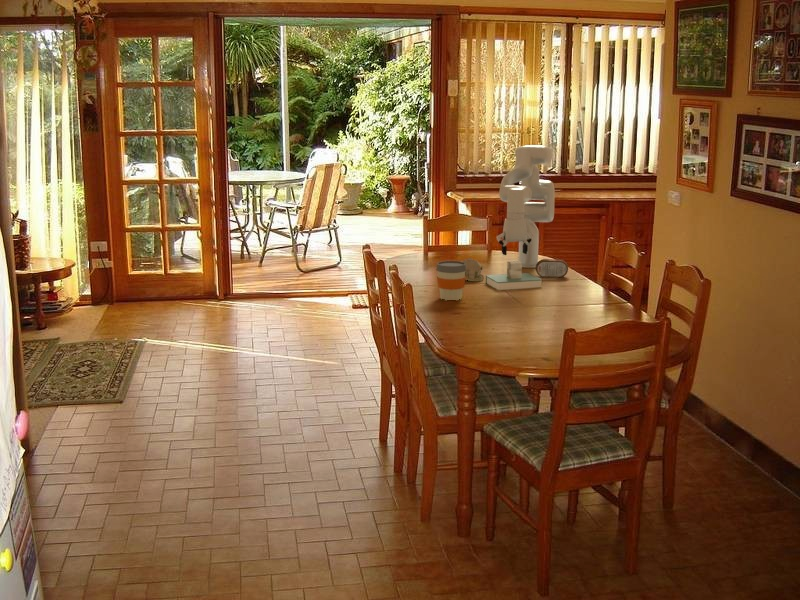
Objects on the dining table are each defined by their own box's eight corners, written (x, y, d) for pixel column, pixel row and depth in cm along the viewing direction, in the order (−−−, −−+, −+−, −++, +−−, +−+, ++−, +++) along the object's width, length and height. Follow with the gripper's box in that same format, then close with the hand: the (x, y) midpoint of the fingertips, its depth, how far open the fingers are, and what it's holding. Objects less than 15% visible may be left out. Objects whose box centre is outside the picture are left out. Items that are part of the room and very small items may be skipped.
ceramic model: (487, 278, 435) (488, 257, 433) (480, 282, 425) (480, 261, 423) (459, 275, 441) (459, 254, 439) (451, 280, 431) (451, 259, 429)
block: (506, 276, 420) (507, 261, 418) (517, 275, 421) (517, 260, 420) (511, 278, 415) (511, 263, 414) (521, 278, 417) (521, 262, 415)
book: (485, 284, 424) (485, 275, 423) (528, 281, 429) (528, 272, 428) (497, 291, 410) (497, 282, 409) (541, 288, 415) (542, 279, 414)
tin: (567, 276, 437) (568, 259, 435) (568, 278, 434) (568, 260, 432) (535, 276, 439) (535, 258, 437) (535, 277, 436) (536, 259, 434)
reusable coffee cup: (431, 296, 399) (431, 261, 395) (458, 293, 403) (458, 259, 399) (443, 302, 387) (443, 267, 384) (470, 300, 391) (471, 265, 388)
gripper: (530, 213, 418) (529, 251, 422) (494, 215, 413) (493, 253, 417) (537, 216, 411) (535, 254, 415) (500, 218, 406) (499, 256, 410)
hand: (514, 254), depth 416 cm, fingers open, 9 cm apart
